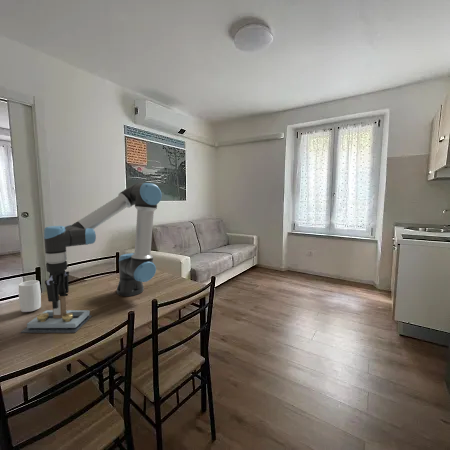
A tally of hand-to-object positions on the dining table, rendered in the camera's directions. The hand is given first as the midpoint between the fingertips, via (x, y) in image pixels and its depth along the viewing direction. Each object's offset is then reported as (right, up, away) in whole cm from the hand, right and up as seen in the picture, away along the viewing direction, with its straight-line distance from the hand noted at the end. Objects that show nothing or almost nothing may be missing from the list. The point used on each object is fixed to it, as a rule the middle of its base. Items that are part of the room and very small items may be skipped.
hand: (59, 312), depth 110 cm
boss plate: (0, -5, 0) cm, 5 cm away
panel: (0, -4, 0) cm, 4 cm away
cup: (-22, -3, +11) cm, 25 cm away
